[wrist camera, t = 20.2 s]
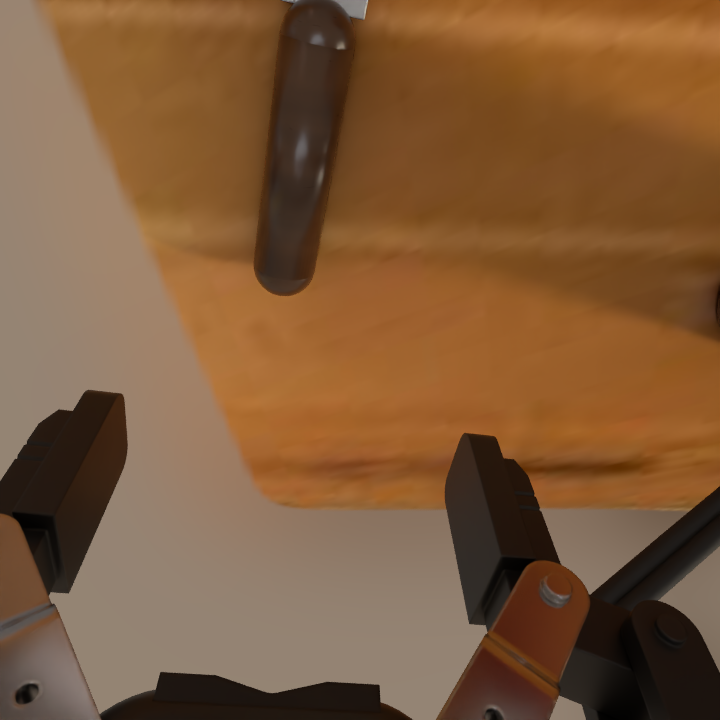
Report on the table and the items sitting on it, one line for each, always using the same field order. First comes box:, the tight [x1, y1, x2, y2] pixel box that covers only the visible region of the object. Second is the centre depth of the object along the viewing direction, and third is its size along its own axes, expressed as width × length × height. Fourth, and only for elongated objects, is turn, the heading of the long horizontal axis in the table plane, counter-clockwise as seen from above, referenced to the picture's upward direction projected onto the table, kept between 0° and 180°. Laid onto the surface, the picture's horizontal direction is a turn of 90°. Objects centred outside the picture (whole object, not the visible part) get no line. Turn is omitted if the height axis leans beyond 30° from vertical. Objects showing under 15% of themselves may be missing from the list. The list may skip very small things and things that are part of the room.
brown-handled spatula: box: [254, 0, 368, 296], centre depth 24 cm, size 20×3×3 cm, turn 168°
